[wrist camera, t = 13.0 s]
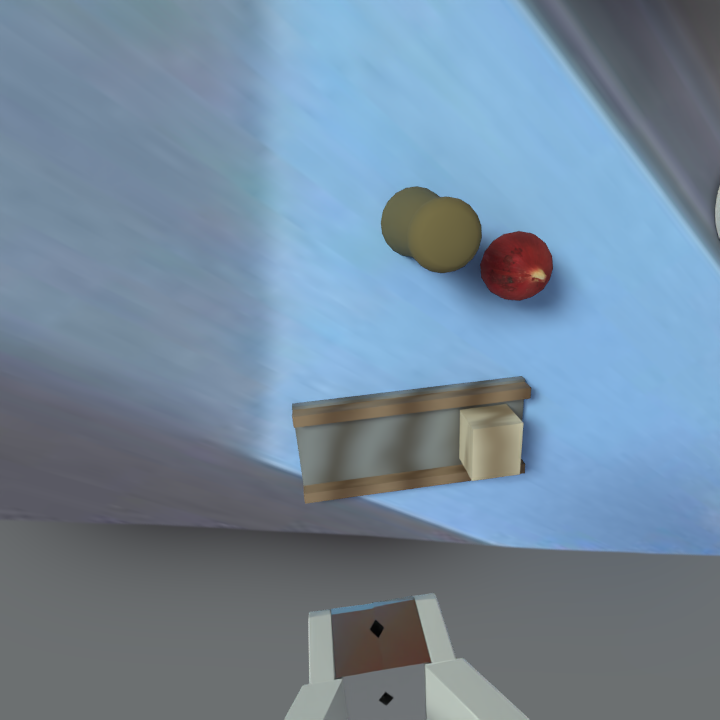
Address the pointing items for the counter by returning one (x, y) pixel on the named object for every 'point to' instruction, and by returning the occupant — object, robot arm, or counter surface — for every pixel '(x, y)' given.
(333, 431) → the chute
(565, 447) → the counter surface
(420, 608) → the robot arm
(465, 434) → the birch block
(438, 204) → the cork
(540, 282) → the onion
